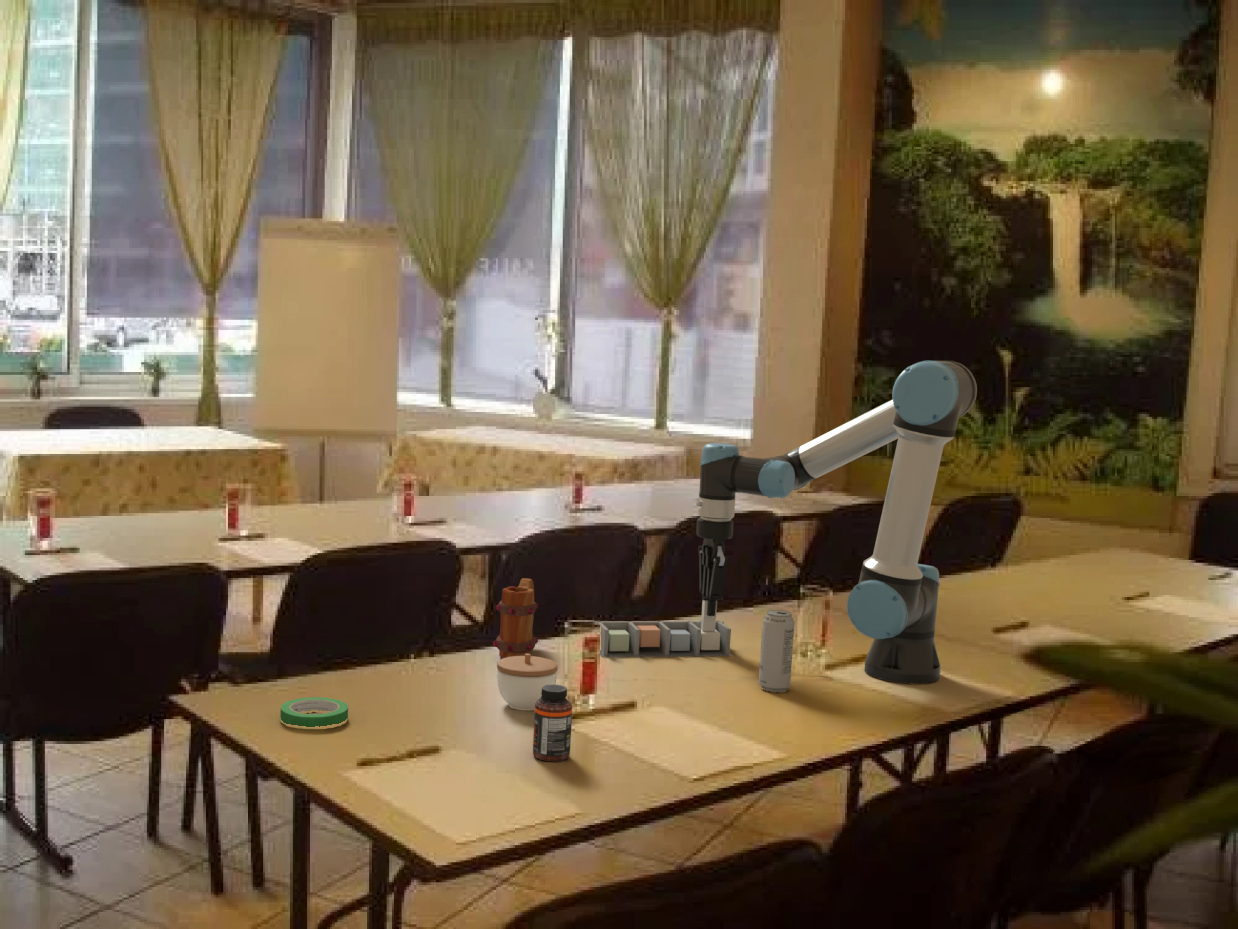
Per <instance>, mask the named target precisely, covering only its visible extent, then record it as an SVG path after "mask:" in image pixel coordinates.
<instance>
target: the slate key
mask: <svg viewBox="0 0 1238 929" xmlns="http://www.w3.org/2000/svg"><path fill="white" fill-rule="evenodd" d="M690 635H691V634H690V633H689V632H687V631H686V630H685V629H671V632H670V649H669V650H671V651H690Z"/></svg>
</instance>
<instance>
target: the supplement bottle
mask: <svg viewBox="0 0 1238 929" xmlns="http://www.w3.org/2000/svg"><path fill="white" fill-rule="evenodd" d="M541 695H542V696H541V698H540V699H539V700H537V701H536V703H535V710H534V718H533V719H534V720H533V734H532V736H533V738H532V739H533V740H532V754H533V756H534V757H535V758H536V759H538V760H540V761H544V762H562V761H564V760H567V759H568V758H569V757H570V754H571V741H572V740H571V739H572V738H571V737H572V724H573V722H572V720H573V703H572V702H571V701H570V700H569V699H567V696H568V688H567V687H566V686H564V685H561V684H555V685H545V686H543V687H542V693H541Z"/></svg>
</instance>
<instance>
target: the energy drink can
mask: <svg viewBox="0 0 1238 929" xmlns="http://www.w3.org/2000/svg"><path fill="white" fill-rule="evenodd" d="M792 615H793V613H792V612H791V611H788V610H785V609H784V610H782V609H769V610H766V614H765V616H764V618H763V619H762V627H761V628H762V630H761V642H760V644H761V645H760V655H759V656H760V657H759V658H760V661H759V673H758V675H759V676H758V685H760V688H761V687H762V688H763V689H765V690H767V691H766V692H768V691H773V692H772V693H776V692H780V693H785V692H787V691H788V688H790V686H791V681H792V680H791V678H792V664H793V648H794V637H795V636H794V635H795V620H794V618H793V616H792ZM765 690H764V691H765ZM784 691H785V692H784Z"/></svg>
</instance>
